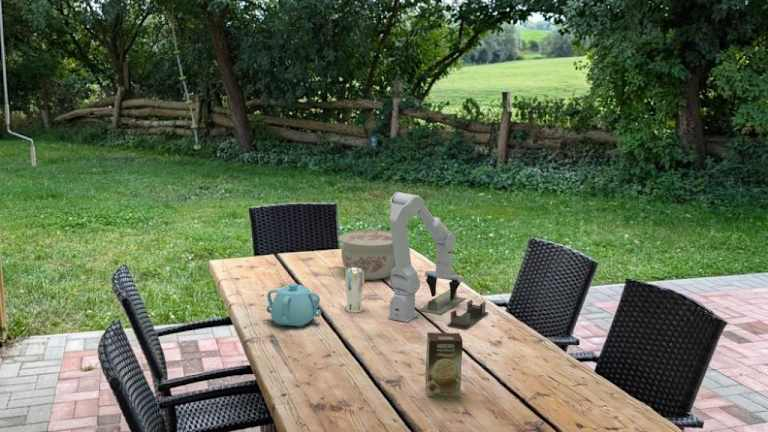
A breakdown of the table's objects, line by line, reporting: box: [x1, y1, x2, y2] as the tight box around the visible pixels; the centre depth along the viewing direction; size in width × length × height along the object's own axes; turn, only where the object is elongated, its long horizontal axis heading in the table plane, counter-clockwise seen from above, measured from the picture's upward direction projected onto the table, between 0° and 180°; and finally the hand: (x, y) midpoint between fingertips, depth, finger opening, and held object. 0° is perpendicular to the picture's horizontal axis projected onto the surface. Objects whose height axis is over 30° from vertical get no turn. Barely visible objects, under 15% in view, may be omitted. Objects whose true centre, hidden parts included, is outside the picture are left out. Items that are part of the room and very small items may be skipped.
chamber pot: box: [337, 227, 410, 281], centre depth 318 cm, size 28×28×21 cm
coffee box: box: [424, 332, 464, 398], centre depth 205 cm, size 9×6×16 cm
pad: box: [418, 296, 467, 316], centre depth 282 cm, size 22×9×1 cm, turn 150°
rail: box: [427, 289, 457, 311], centre depth 282 cm, size 18×3×3 cm, turn 150°
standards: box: [446, 299, 489, 331], centre depth 265 cm, size 20×7×5 cm, turn 150°
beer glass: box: [344, 268, 365, 313], centre depth 274 cm, size 7×7×15 cm
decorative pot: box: [266, 283, 322, 328], centre depth 261 cm, size 16×16×14 cm
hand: (442, 297), depth 282 cm, fingers open, 7 cm apart
